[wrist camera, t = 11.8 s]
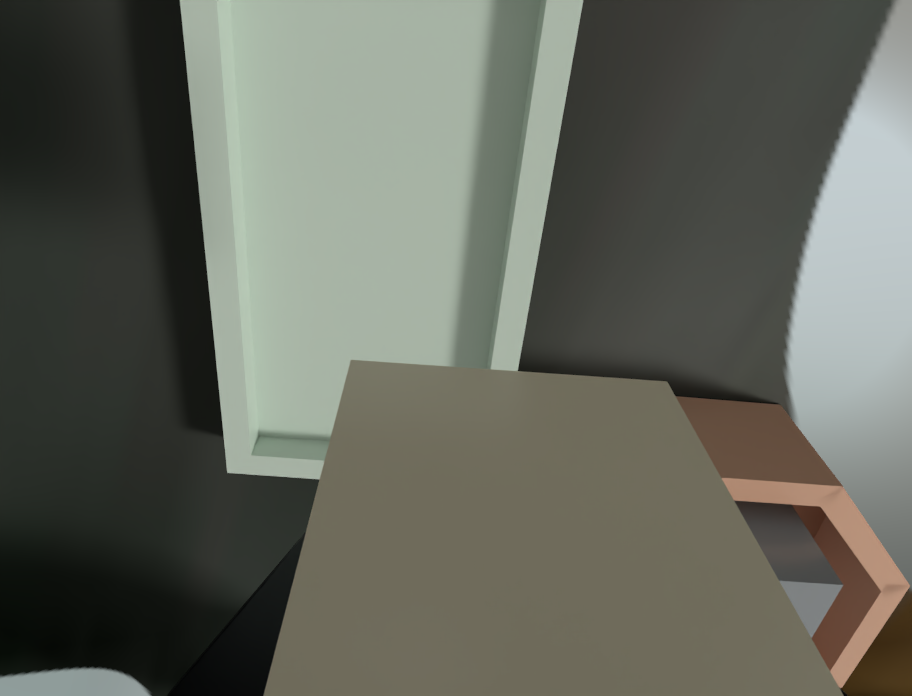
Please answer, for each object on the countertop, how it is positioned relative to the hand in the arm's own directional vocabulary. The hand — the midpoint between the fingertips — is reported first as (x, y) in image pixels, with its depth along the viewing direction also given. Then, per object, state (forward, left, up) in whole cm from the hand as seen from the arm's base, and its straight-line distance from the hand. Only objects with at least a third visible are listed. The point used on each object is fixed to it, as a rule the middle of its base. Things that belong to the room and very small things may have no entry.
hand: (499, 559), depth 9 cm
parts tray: (+1, +3, -11) cm, 12 cm away
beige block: (0, 0, -1) cm, 1 cm away
